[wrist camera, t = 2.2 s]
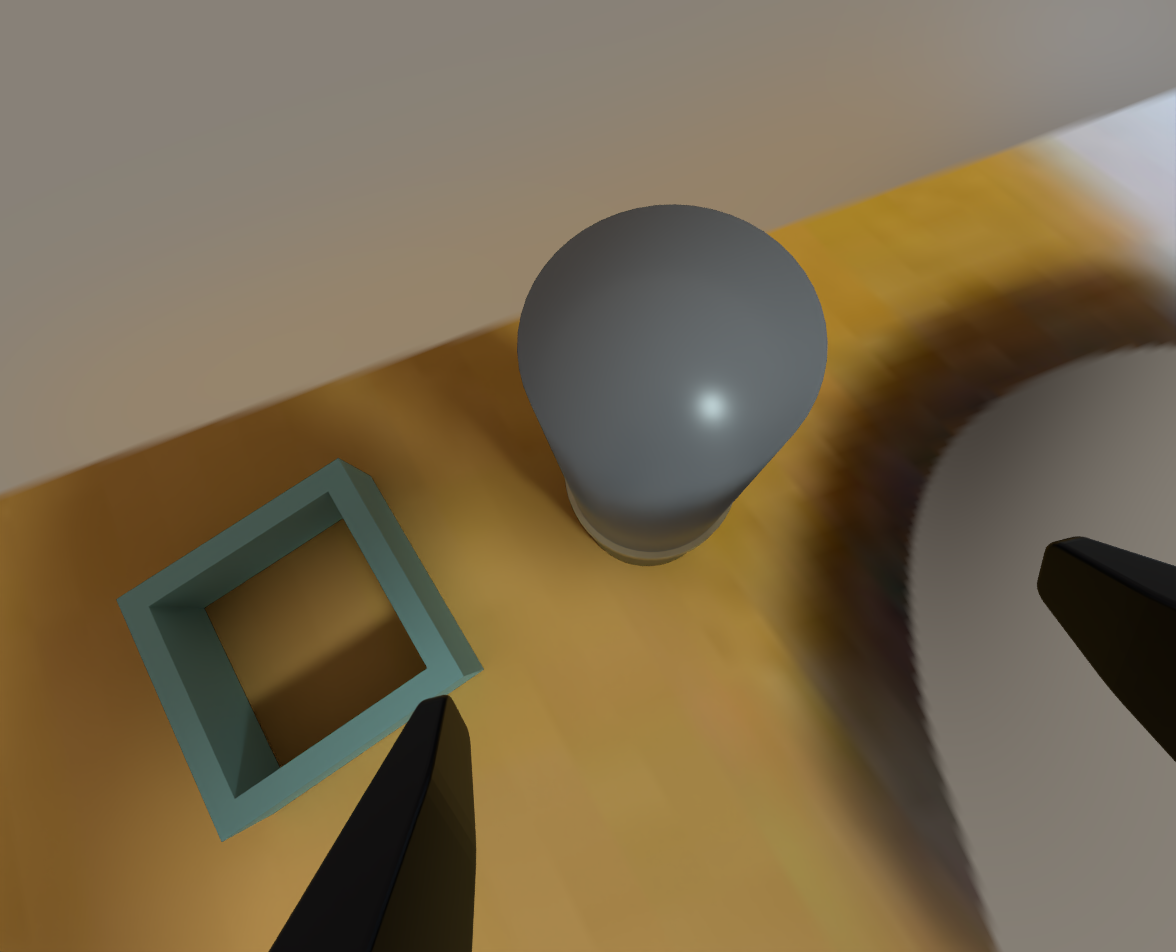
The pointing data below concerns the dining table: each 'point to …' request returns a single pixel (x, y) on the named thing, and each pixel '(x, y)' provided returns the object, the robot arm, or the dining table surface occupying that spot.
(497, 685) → the dining table surface
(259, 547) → the frame
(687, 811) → the dining table surface
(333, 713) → the dining table surface
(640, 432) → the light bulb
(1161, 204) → the dining table surface
